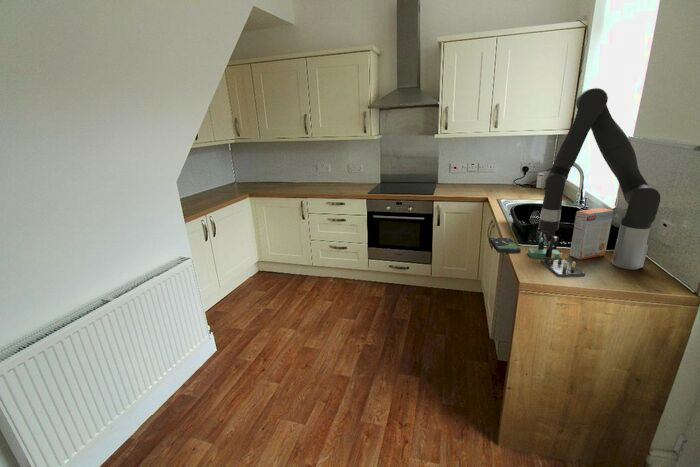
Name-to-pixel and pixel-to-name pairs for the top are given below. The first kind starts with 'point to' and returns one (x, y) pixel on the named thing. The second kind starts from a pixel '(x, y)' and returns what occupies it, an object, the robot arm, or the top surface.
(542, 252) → the board
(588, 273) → the top surface
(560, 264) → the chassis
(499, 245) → the disk drive
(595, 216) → the cracker box
